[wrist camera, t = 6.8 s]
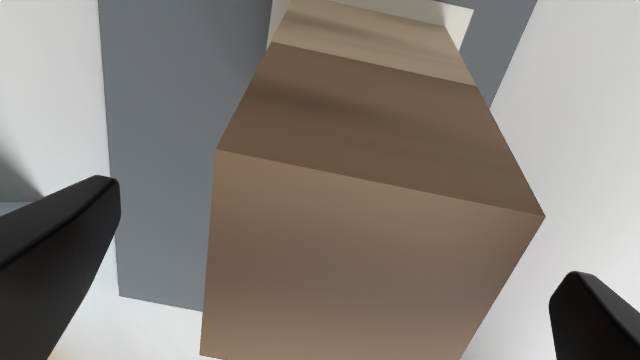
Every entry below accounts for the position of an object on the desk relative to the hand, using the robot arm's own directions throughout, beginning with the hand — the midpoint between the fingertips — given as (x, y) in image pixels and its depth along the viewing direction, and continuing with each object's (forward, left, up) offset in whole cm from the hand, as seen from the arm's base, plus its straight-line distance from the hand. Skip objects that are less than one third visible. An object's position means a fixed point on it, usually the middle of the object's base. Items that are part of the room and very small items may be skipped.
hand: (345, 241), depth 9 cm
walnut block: (0, 0, -4) cm, 4 cm away
